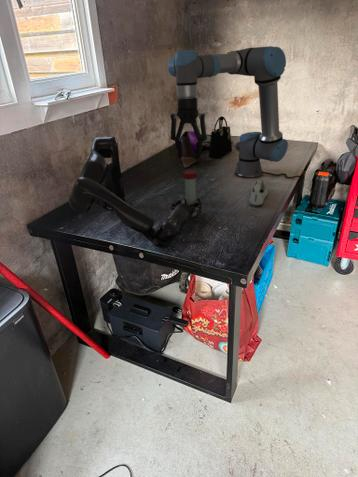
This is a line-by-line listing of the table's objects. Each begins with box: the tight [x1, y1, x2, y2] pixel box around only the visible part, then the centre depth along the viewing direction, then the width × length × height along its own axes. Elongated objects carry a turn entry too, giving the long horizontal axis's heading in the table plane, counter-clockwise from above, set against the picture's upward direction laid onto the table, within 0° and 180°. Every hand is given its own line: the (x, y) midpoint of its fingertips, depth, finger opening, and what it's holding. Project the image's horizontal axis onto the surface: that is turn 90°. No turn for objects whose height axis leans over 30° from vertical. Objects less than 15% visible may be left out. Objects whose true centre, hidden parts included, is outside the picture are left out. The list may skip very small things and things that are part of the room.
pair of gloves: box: [202, 134, 234, 149], centre depth 250 cm, size 30×26×5 cm
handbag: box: [208, 115, 233, 159], centre depth 220 cm, size 21×9×25 cm, turn 148°
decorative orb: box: [179, 130, 198, 153], centre depth 230 cm, size 15×15×15 cm
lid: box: [183, 169, 197, 180], centre depth 138 cm, size 5×5×2 cm
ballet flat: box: [249, 179, 269, 207], centre depth 158 cm, size 8×24×8 cm, turn 163°
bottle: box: [184, 177, 198, 218], centre depth 143 cm, size 4×4×19 cm
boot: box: [180, 130, 198, 169], centre depth 209 cm, size 9×24×20 cm, turn 168°
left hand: (193, 199), depth 147 cm, fingers closed on bottle, 4 cm apart
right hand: (189, 157), depth 135 cm, fingers open, 7 cm apart
